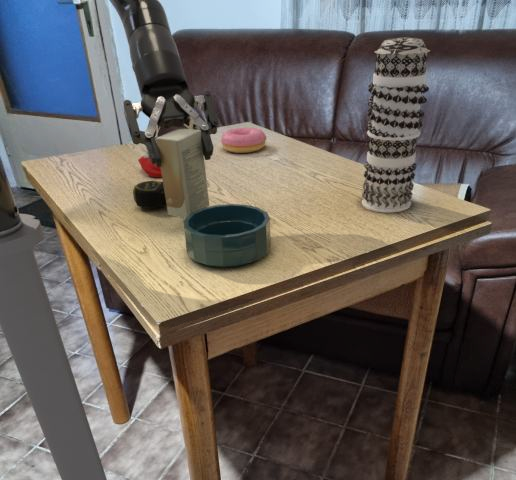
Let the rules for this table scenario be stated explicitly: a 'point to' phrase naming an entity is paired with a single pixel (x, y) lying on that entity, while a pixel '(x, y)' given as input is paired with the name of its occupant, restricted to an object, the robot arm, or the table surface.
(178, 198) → the cosmetic box
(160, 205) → the tape measure
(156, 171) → the tracker holder
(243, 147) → the doughnut
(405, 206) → the white patterned cylinder
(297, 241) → the table surface
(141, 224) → the table surface
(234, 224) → the bowl
